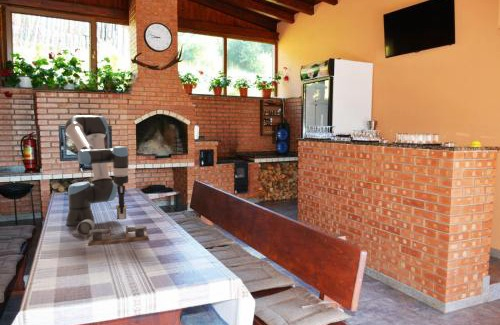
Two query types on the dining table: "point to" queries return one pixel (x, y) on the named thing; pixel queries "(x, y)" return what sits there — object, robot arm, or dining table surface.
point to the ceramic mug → (84, 227)
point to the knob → (124, 211)
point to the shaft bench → (118, 235)
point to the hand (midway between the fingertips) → (121, 217)
